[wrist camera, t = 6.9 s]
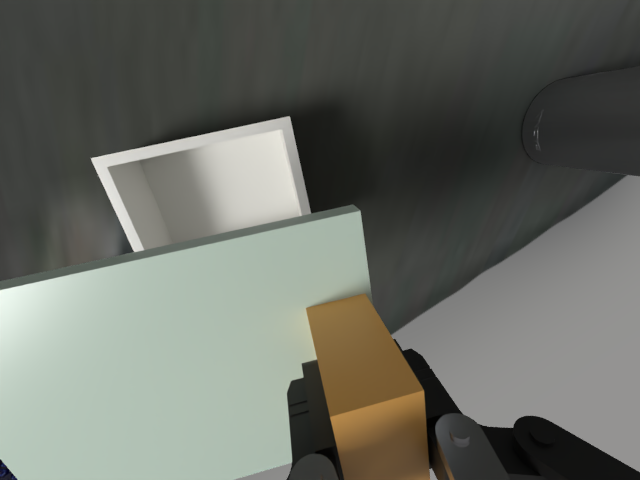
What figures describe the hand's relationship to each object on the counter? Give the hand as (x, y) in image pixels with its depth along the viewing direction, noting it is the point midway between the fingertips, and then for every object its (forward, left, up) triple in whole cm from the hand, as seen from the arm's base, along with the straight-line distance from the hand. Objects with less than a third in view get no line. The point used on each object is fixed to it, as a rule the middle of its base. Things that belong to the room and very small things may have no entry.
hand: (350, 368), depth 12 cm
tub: (+6, -4, -23) cm, 24 cm away
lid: (+6, 0, -3) cm, 7 cm away
